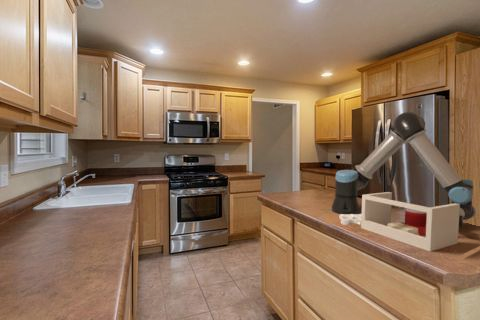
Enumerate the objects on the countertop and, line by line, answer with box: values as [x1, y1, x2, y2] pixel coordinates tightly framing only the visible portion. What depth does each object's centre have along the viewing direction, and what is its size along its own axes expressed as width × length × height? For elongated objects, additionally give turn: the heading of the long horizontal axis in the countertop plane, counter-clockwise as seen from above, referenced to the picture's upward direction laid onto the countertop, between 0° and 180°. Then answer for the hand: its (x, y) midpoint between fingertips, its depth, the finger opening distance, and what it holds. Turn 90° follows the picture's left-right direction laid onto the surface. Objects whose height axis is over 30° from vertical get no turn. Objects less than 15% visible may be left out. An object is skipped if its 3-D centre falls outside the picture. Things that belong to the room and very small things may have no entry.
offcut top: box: [386, 221, 418, 234], centre depth 103 cm, size 9×6×2 cm, turn 22°
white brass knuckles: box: [338, 213, 362, 226], centre depth 125 cm, size 3×18×15 cm
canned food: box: [404, 208, 427, 237], centre depth 107 cm, size 8×8×11 cm
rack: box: [360, 191, 460, 252], centre depth 104 cm, size 28×18×16 cm, turn 26°
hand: (423, 219), depth 108 cm, fingers open, 13 cm apart
